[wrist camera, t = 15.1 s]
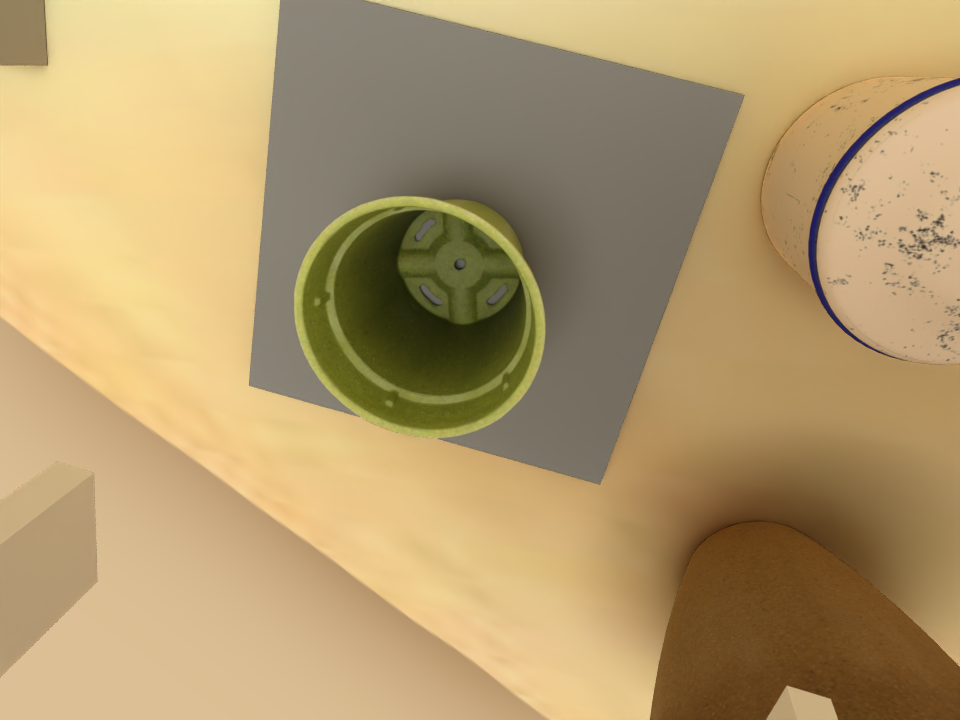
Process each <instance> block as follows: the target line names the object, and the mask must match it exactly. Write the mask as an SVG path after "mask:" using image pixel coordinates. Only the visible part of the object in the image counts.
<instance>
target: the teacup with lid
mask: <svg viewBox="0 0 960 720" xmlns="http://www.w3.org/2000/svg"><path fill="white" fill-rule="evenodd" d="M761 208H762V216H763V221H764V225H765V228H766V231H767V234H768V236H769V238H770V240H771V242H772V244H773V246H774V247H775V249H776V250H777V252H778V253H779V254H780V255H781V257H782V258H783V259H784V260H785V261H786V262H787V263H788V264H789V265H790V266H791V267H792V268H793V269H794V270H795V271H796V272H797V273H798V274H799V275H800V276H801V277H802V278H803V279H804V280H805V281H806V282H807V283H808V284H809V285H810V286H811V287H812V288H813V289H814V290H815V291H816V293H817V295H818V297H819V299H820V301H821V303H822V305H823V306H824V308H825V309H826V311H827V313H828V314H829V315H830V317H831V318H832V319H833V320H834V321H835V323H836V324H837V325H838V326H839V327H840V328H841V329H842V330H843V331H844V332H845V333H847V334H848V335H849V336H851V337H852V338H853V339H855V340H856V341H858V342H859V343H861V344H863V345H864V346H866V347H868V348H870V349H872V350H874V351H876V352H878V353H881V354H884V355H887V356H889V357H893V358H897V359H901V360H905V361H911V362H917V363H923V364H936V365H953V364H960V78H934V77H899V76H891V77H880V78H874V79H869V80H865V81H861V82H858V83H855V84H852V85H849V86H847V87H844V88H842V89H840V90H838V91H836V92H834V93H832V94H830V95H828V96H827V97H825V98H823V99H822V100H820V101H819V102H817V103H816V104H814V105H813V106H812V107H811V108H809V109H808V110H807V111H806V112H805V113H803V114H802V115H801V116H800V117H799V118H798V119H797V120H796V121H795V122H794V124H793V125H792V126H791V127H790V128H789V129H788V131H787V132H786V133H785V135H784V136H783V137H782V139H781V140H780V142H779V144H778V145H777V147H776V149H775V151H774V153H773V155H772V157H771V159H770V161H769V164H768V166H767V169H766V173H765V176H764V180H763V186H762V195H761Z"/></svg>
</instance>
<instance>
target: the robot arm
mask: <svg viewBox="0 0 960 720" xmlns="http://www.w3.org/2000/svg"><path fill="white" fill-rule="evenodd" d="M96 551H97V550H96V518H95V487H94V473H93V472H90V471H87V470H83V469H80V468H77V467H74V466H70V465H67V464H64V463H60V462H55V463H54V464H52V465H51V466H49V467H48V468H47V469H45V470H44V471H42V472H41V473H39V474H38V475H36V476H35V477H34V478H32V479H31V480H29V481H28V482H26V483H25V484H23V485H22V486H21V487H19V488H18V489H16V490H15V491H13V492H12V493H11V494H9V495H8V496H6V497H5V498H4V499H2V500H1V501H0V677H1V676H2V675H3V674H4V673H5V672H6V671H7V670H8V669H9V668H10V667H11V666H12V665H13V664H14V663H15V662H16V661H17V660H18V659H19V658H20V657H21V656H22V655H23V654H25V653H26V651H28V650H29V649H30V647H32V646H33V645H34V643H36V642H37V641H38V640H39V639H40V638H41V637H42V636H43V635H44V634H45V633H46V632H47V631H48V630H49V629H50V628H51V627H52V626H53V625H54V624H55V623H56V622H57V621H58V620H59V619H60V618H61V617H62V616H63V615H64V614H65V613H66V612H67V611H68V610H69V609H70V608H71V607H72V606H73V605H74V604H75V603H76V602H77V601H78V600H79V599H80V598H81V597H82V596H83V595H84V594H85V593H86V592H87V591H88V590H89V589H90V588H92V587H93V586H94V584H96V583H97V552H96ZM766 720H838V718H837V715H836V712H835V710H834V707H833V704H832V701H831V699H829V698H826V697H822V696H819V695H816V694H813V693H809V692H806V691H803V690H800V689H796V688H793V687H790V686H786V688H785V689H784V691H783V693H782V694H781V696H780V698H779V699H778V701H777V703H776V704H775V706H774V708H773V709H772V711H771V712H770V714H769V716H768V717H767V719H766Z"/></svg>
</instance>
